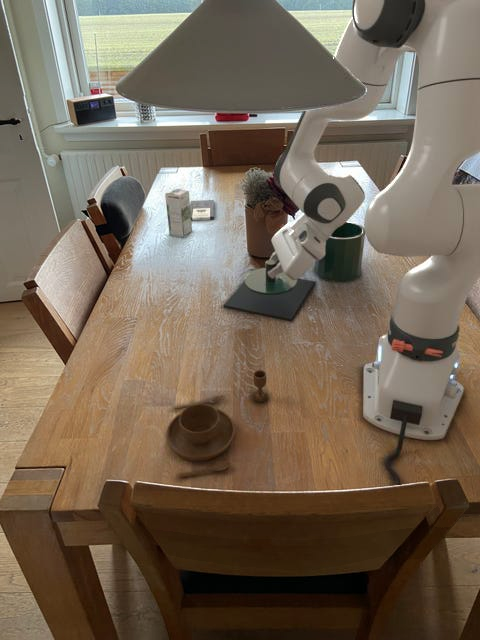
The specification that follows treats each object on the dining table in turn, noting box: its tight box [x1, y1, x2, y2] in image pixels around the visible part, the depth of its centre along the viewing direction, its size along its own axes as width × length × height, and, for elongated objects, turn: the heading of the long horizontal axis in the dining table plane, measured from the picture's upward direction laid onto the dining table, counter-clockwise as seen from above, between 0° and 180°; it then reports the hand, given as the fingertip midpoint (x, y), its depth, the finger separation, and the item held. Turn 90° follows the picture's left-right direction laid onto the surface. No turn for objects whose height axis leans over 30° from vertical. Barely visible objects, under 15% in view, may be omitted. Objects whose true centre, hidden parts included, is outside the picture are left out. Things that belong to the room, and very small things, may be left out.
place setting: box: [165, 369, 268, 478], centre depth 82 cm, size 18×20×6 cm
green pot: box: [314, 220, 366, 282], centre depth 129 cm, size 13×13×12 cm
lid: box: [243, 259, 297, 295], centre depth 119 cm, size 14×14×6 cm
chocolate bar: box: [190, 199, 215, 221], centre depth 176 cm, size 9×1×18 cm
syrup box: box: [164, 188, 193, 238], centre depth 155 cm, size 6×6×14 cm
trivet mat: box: [223, 278, 316, 322], centre depth 123 cm, size 20×18×1 cm
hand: (268, 272), depth 119 cm, fingers closed on lid, 2 cm apart
